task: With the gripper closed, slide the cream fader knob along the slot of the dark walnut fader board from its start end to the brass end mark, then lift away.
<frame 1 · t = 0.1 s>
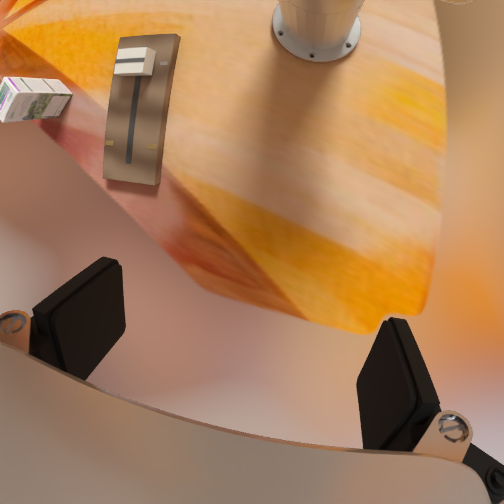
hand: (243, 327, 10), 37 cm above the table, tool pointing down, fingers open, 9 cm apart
fader board: (140, 107, 43), on the table
fader knob: (134, 61, 37), point 4 cm above the table, slide at 0.0 cm
syrup box: (59, 98, 44), on the table
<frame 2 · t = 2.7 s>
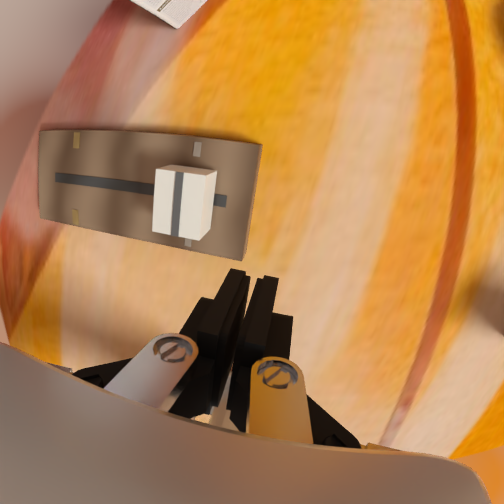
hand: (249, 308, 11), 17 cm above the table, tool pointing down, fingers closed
fader board: (133, 181, 29), on the table
fader knob: (184, 200, 24), point 4 cm above the table, slide at 0.0 cm
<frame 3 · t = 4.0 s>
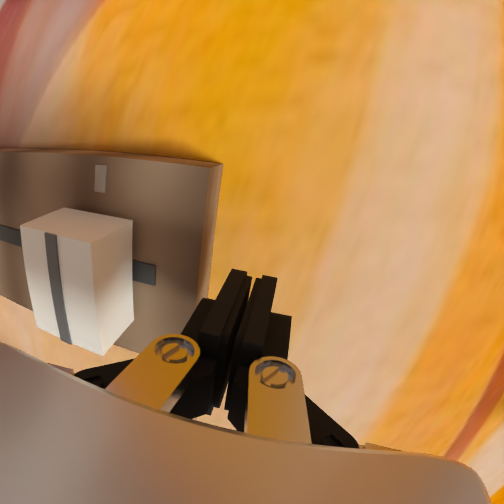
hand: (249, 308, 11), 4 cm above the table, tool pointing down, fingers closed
fader board: (35, 226, 16), on the table
fader knob: (77, 277, 12), point 4 cm above the table, slide at 0.0 cm
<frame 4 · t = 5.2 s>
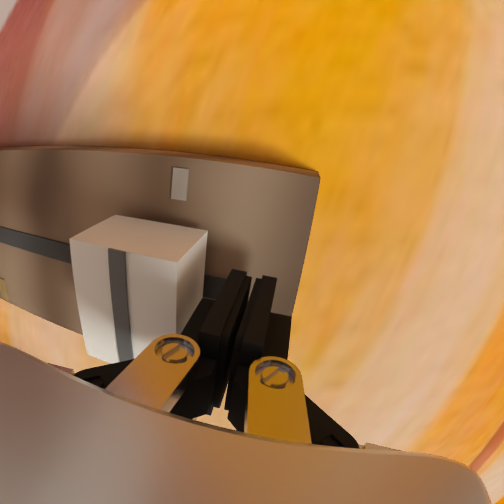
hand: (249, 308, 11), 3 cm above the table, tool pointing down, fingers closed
fader board: (76, 236, 15), on the table
fader knob: (140, 297, 11), point 4 cm above the table, slide at 0.7 cm, touching gripper
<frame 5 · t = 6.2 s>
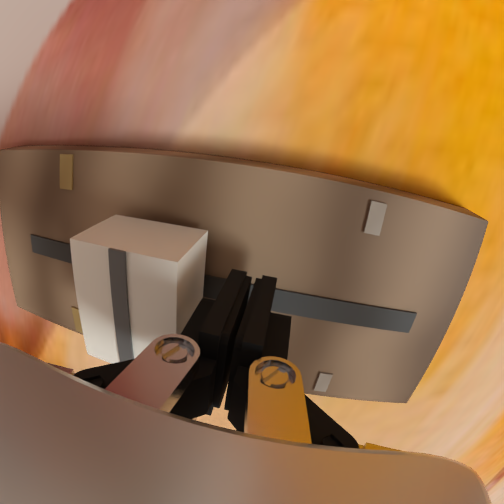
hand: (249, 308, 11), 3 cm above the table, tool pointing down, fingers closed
fader board: (195, 261, 15), on the table
fader knob: (140, 297, 11), point 4 cm above the table, slide at 7.9 cm, touching gripper
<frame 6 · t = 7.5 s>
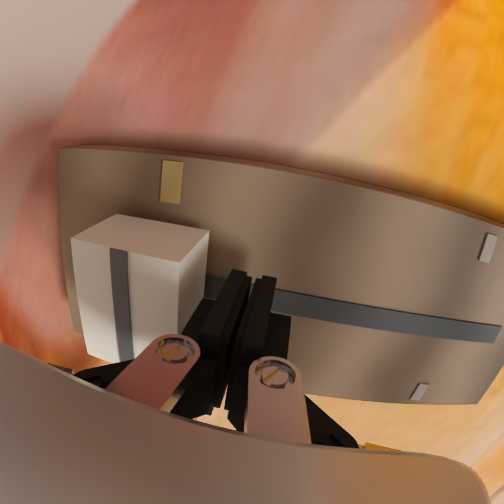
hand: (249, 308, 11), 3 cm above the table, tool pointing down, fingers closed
fader board: (309, 283, 14), on the table
fader knob: (141, 297, 11), point 4 cm above the table, slide at 13.2 cm, touching gripper
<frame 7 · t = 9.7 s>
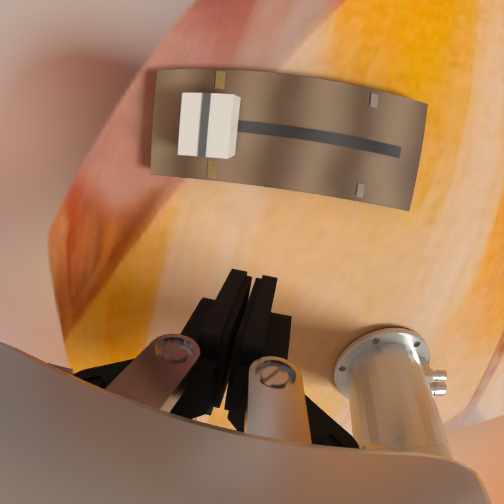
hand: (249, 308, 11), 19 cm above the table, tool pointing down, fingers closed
fader board: (287, 131, 26), on the table
fader knob: (209, 124, 23), point 4 cm above the table, slide at 13.0 cm
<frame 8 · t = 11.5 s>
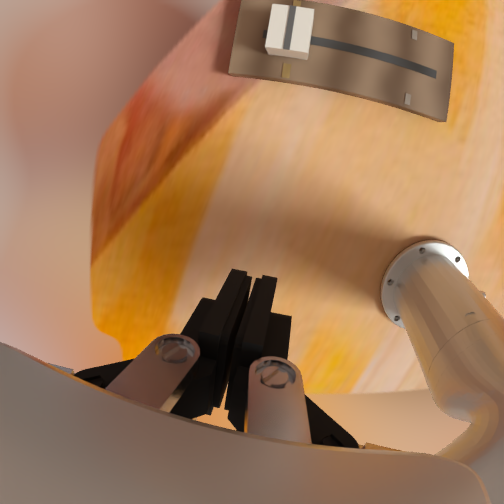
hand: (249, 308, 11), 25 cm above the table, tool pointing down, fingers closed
fader board: (346, 52, 28), on the table
fader knob: (290, 31, 25), point 4 cm above the table, slide at 13.0 cm
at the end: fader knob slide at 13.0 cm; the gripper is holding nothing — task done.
